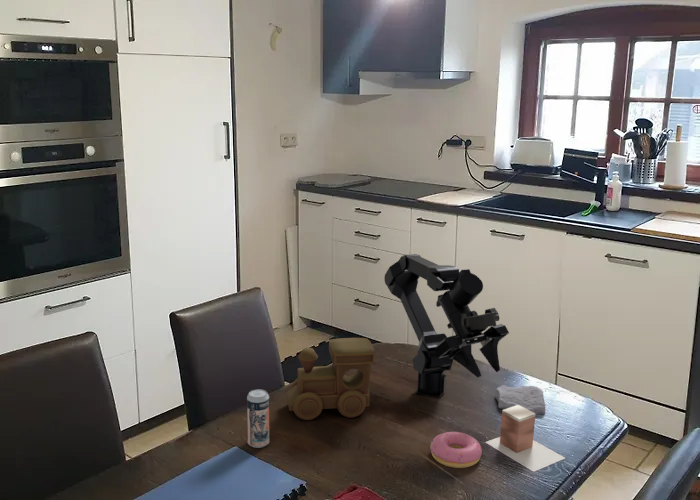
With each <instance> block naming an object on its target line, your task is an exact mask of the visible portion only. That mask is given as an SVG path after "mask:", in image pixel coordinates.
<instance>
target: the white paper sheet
mask: <svg viewBox="0 0 700 500" xmlns="http://www.w3.org/2000/svg"><path fill="white" fill-rule="evenodd" d="M485 444H487V445H489V446H490V447H491V448H494V449H495V450H497V451H499V452H500V453H502V454H504V455H505V456H507V457H508V458H510V459H512V460H513V461H515V462H517V463H518V464H520V465H522V466H523V467H525V468H527V469H528V470H530V471H532V472H533V473H534V472H536V471H539V470H542V469H544V468H546V467H548V466H550V465H553V464H556V463H557V462H560V461H562V460H565V459H566V457H564V456H563V455H561V454H559V453H557V452H555V451H554V450H552V449H550V448H548V447H547V446H545V445H543V444H541V443H540V442H537V441H536V440H534V439H533V446H532V447H531V448H528V449H526V450H523V451H521V452H518V453H515V452H514V451H512V450H510V449H509V448H507V447H505V446H504V445H502V444H500V436H498V437H496V438H492V439H490V440H487V441H485Z"/></svg>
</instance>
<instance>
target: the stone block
mask: <svg viewBox="0 0 700 500" xmlns="http://www.w3.org/2000/svg"><path fill="white" fill-rule="evenodd" d="M494 398H495V400H496V401H497V403H498V408H499V409H501V410H504V409H507V408H510V407H513V406H516V405H520V406H522V407H524V408H526V409H528V410H529V411H531V412H533V413H535V415H544V414H546V404H545V403H546V402H545V397H544V390H543V389H542V388H540V387H538V386H535V385H524V386H518V387H512V386H511V387H510V386H507V385H506V384H503V385H499V386H498V387H497V388H496V390H495V394H494Z"/></svg>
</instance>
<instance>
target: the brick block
mask: <svg viewBox="0 0 700 500" xmlns="http://www.w3.org/2000/svg"><path fill="white" fill-rule="evenodd" d="M535 424H536V414H535V413H533V412H531V411H529V410H528V409H526V408H524V407H522V406H520V405H516V406H513V407H510V408H507V409H501V421H500V434H499V435H500V436H499V437H500V444H502V445H504V446H505V447H507V448H509V449H510V450H512V451H514V452H515V453H518V452H521V451H523V450H526V449H528V448H531V447H532V446H533V440H534V435H535V434H534V433H535Z"/></svg>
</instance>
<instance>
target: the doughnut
mask: <svg viewBox="0 0 700 500" xmlns="http://www.w3.org/2000/svg"><path fill="white" fill-rule="evenodd" d="M429 447H430V451H431V452H430V453H431V455H432V457H433V458H434V460H435V461H436V462H438V463H439V464H441V465H442V466H445V467H449V468H455V469H465V468H469V467H470V468H471V467H472V466H474V465H476V464H477V463H478V462H479V461H480V460H481V458H482V457H481V456H482V453H483V449H482V446H481V444H480V442H479V441H478V440H477V439H476V438H475V437H473V435H470V434H467V433H464V432H459V431H447V432H446V431H445V432H441V433H440V434H437V435H436V436H435V437H434V438H433V439H432V440H431V443H430V445H429Z"/></svg>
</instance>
